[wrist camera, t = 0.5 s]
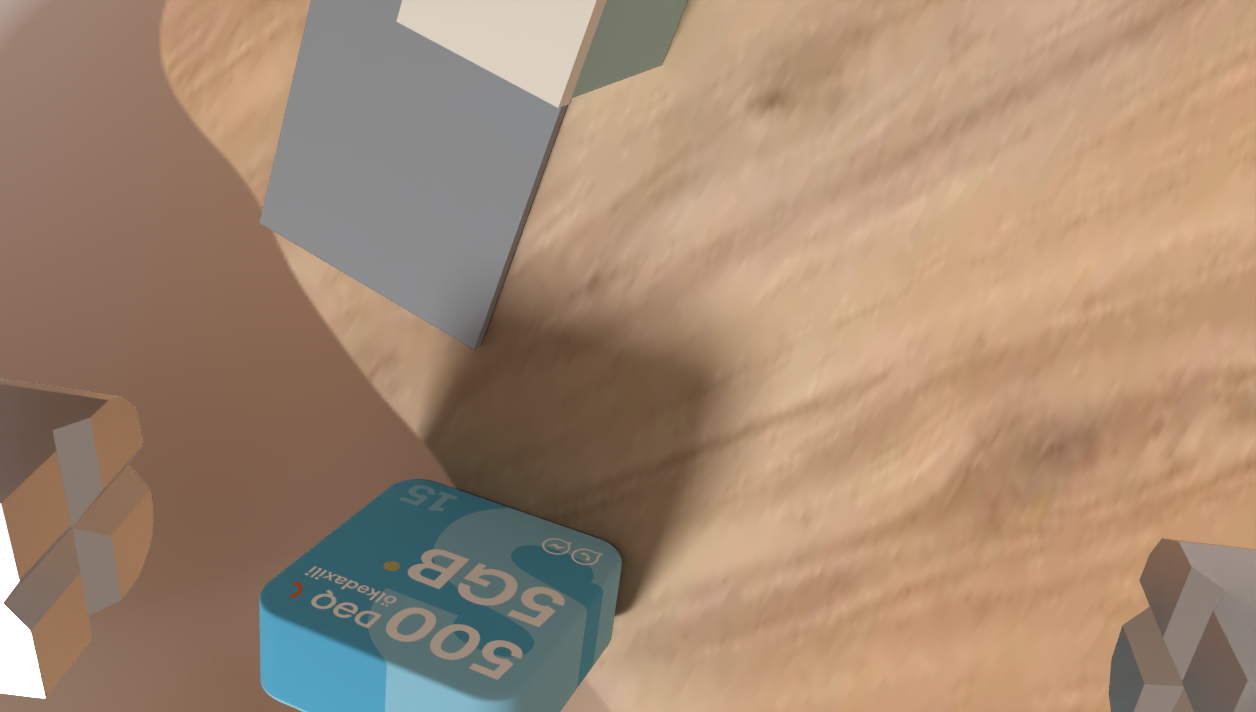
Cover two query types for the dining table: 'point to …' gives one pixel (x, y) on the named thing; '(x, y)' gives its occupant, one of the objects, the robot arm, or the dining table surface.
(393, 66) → the felt mat
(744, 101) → the dining table surface
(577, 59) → the tea tin
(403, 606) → the data package
